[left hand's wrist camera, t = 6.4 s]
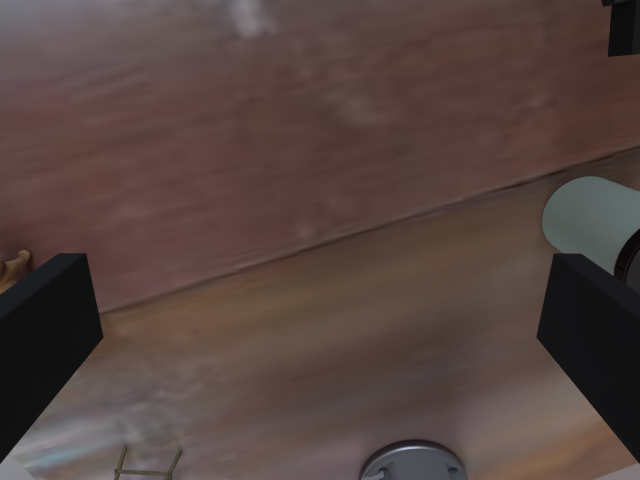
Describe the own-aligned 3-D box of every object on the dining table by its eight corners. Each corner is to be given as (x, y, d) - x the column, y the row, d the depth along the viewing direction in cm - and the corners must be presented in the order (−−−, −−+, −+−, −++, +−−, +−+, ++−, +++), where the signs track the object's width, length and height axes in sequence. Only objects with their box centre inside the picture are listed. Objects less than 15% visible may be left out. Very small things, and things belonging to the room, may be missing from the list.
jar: (561, 265, 51) (649, 336, 38) (527, 206, 49) (608, 259, 35) (634, 223, 49) (755, 281, 36) (603, 159, 47) (720, 195, 33)
